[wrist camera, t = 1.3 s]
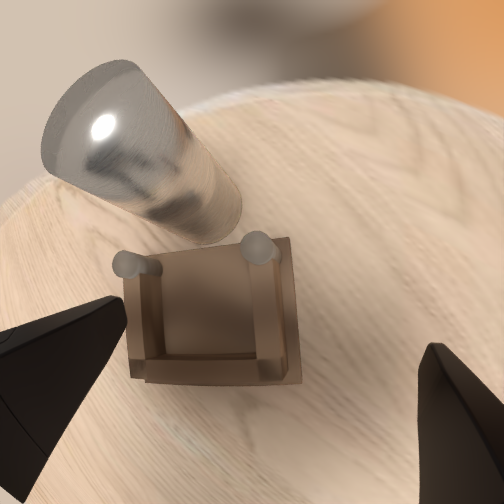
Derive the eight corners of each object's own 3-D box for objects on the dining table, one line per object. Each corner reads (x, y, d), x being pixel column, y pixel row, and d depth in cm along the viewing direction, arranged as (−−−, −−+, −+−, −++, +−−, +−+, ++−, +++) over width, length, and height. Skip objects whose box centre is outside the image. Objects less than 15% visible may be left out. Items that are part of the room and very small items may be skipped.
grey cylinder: (244, 239, 23) (136, 153, 9) (174, 248, 24) (31, 191, 10) (239, 168, 24) (150, 42, 10) (173, 181, 25) (55, 89, 11)
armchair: (302, 381, 20) (295, 401, 16) (149, 381, 23) (115, 393, 18) (289, 238, 22) (280, 222, 18) (140, 258, 24) (105, 248, 20)
